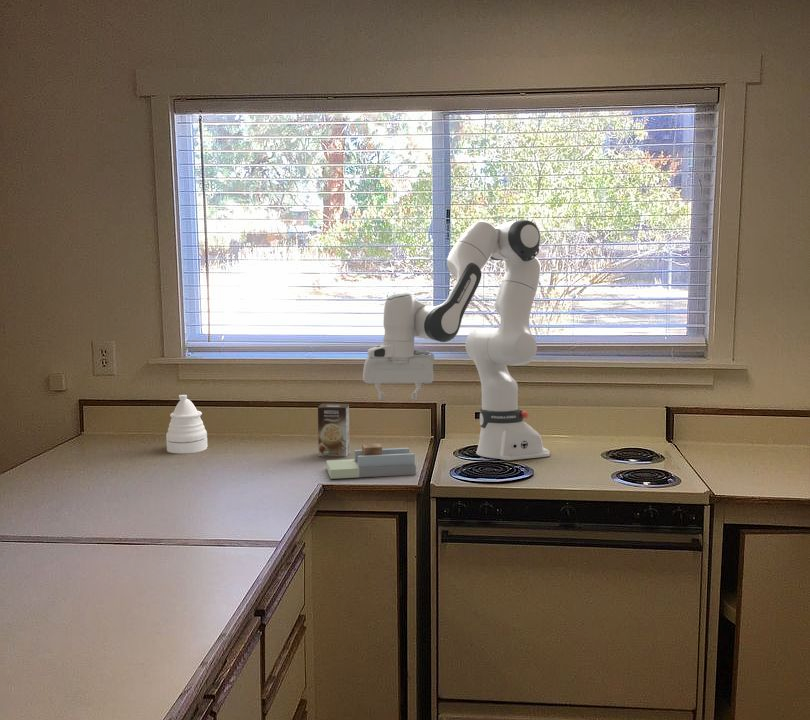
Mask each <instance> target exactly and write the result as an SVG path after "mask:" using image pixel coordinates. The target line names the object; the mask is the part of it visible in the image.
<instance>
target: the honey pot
mask: <svg viewBox="0 0 810 720" xmlns="http://www.w3.org/2000/svg"><path fill="white" fill-rule="evenodd" d="M187 397H188V395H187V394H179V395H178V399H179V401H178V402H177V404H176V406H175V408H174V410H173V411H172V412H171V413H170V414H169V417H171V418H170V422H169V423H168V427H167V432H166V434H165V435H166V436H165V437H166V438H165V439H166V451H167V453H170V454H193V453H200V452H202V451H206V449H208V448H209V447H208V431H207V430H206V428H205V427H206V426H205V425H204V422H203V420H202V418H201V416H202V415H203V412H202V411H200V410H198V409H197V408H196V406H195V405H194V403H193V402H192V401H191V400H190V399H188V398H187ZM207 447H208V448H207Z"/></svg>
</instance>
